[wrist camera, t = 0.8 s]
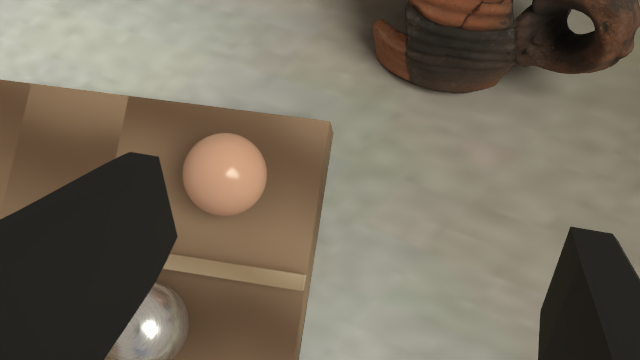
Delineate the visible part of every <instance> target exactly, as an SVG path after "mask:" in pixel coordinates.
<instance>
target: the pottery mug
mask: <svg viewBox="0 0 640 360" xmlns="http://www.w3.org/2000/svg"><path fill="white" fill-rule="evenodd" d="M572 9H574V10H578V11H580V12H582V13H584V14H586V15H587V16H588V17H590V18H591V20H592V21H593V23H594V27H595V31H593V32H590V33H586V34H575V33H574V32H572V31H571V30H570V29H569V27H568V24H567V18H568V15H569V13H570V12H571V10H572ZM405 18H406V24H407V26H406V33H407V35H406V34H403V33H401V32H399V31H398V30H396V29H394V28H393V27H392V26H391V25H389V24H388V23H387V22H386V21H384V20H383V19H379V20H378V21H376V22H375V23H374V25H373V36H374V41H375V47H376V56H377V59H378V60H379V61H380V62H381V63H382V64H383V65H384V66H385V67H386V68H387V69H389V70H390V71H392V72H393V73H394V74H396V75H397V76H400V77H402V78H404V79H405V80H408V81H411V82H412V83H414V84H416V85H419V86H423V87H427V88H430V89H432V90H435V91H446V92H451V93H467V92H472V91H478V90H483V89H486V88H489V87H492V86H495V85H496V84H497V83H498V81H499V80H500V79H501V78H502V76H503V75H504V74H505V73H507V72H508V71H509V70H510V68H511V67H512V66H514V65H515V64H516V63H518V64H519V65H521V66H523V67H527V66H537V67H541V68H544V69H547V70H550V71H554V72H558V73H565V74H579V73H591V72H596V71H600V70H604V69H606V68H608V67H611V66H613V65H614V64H616V63H617V62H618V61H619V60H620V59H621V58H623V57H626V56H627V55H628V54H629V53H630V52H631V51H632V50H633V47H634V35H635V32H636V29H637V28H638V27H639V26H640V6H639V2H638V0H533V1H532V5H531V6H529V7H528V8H527V9H526V10H525V11H524V12H523V13H522V14H521V15H520V16H519V17H517V19H514V18H513V0H408V3H407V4H406V6H405Z"/></svg>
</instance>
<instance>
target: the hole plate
mask: <svg viewBox="0 0 640 360" xmlns="http://www.w3.org/2000/svg"><path fill="white" fill-rule="evenodd" d="M217 133H232V134H237V135H240V136H242V137H244V138H246V139H248V140H249V141H251V142H252V143H253V144H254V145H255V146H256V147H257V148H258V149H259V151H260V152H261V154H262V155H263V158H264V160H265V163H266V167H267V182H266V186H265V189H264V192H263V194H262V196H261V197H260V199H259V200H258V201H257V202H256V203H255V205H253V206H252V207H251V208H250V209H248V210H247V211H245V212H243V213H240V214H237V215H234V216H216V215H212V214H209V213H207V212H205V211H203V210H202V209H200V208H199V207H197V206H196V205H195V204H194V203H193V202H192V200H191V199H190V198H189V196H188V194H187V193H186V190H185V188H184V184H183V178H182V172H183V165H184V161H185V159H186V156H187V155H188V153H189V151H190V150H191V149H192V147H193V146H194V145H195V144H196V143H198V142H199V141H200V140H202V139H203V138H205V137H207V136H210V135H213V134H217ZM332 138H333V131H332V127H331V123H330V121H322V120H315V119H307V118H299V117H291V116H283V115H275V114H267V113H259V112H251V111H243V110H235V109H227V108H219V107H211V106H204V105H196V104H188V103H180V102H172V101H164V100H156V99H148V98H140V97H132V96H124V95H116V94H108V93H101V92H93V91H85V90H77V89H69V88H61V87H53V86H45V85H37V84H29V83H21V82H13V81H5V80H0V219H2V218H4V217H6V216H8V215H10V214H12V213H14V212H16V211H18V210H20V209H22V208H24V207H26V206H27V205H29V204H31V203H33V202H35V201H37V200H39V199H40V198H42V197H44V196H46V195H48V194H50V193H52V192H53V191H55V190H57V189H59V188H61V187H63V186H65V185H66V184H68V183H70V182H72V181H74V180H76V179H77V178H79V177H81V176H83V175H85V174H87V173H88V172H90V171H92V170H94V169H96V168H98V167H100V166H102V165H104V164H105V163H107V162H109V161H111V160H113V159H115V158H117V157H120V156H122V155H124V154H126V153H128V152H135V153H141V154H146V155H152V156H158V157H159V159H160V164H161V168H162V172H163V176H164V181H165V185H166V189H167V193H168V198H169V202H170V206H171V210H172V215H173V219H174V223H175V227H176V232H177V236H178V237H177V239H176V241H175V244H174V246H173V248H172V250H171V252H170V254H169V257H168V259H167V261H166V263H165V265H164V267H163V269H162V271H161V273H160V275H159V277H158V279H157V281H156V282H157V283H161V284H164V285H166V286H168V287H169V288H171V289H173V290H174V291H175V292H176V293H177V294H178V295H179V296H180V297H181V299H182V300H183V302H184V303H185V306H186V308H187V311H188V316H189V330H188V334H187V338H186V340H185V343H184V344H183V346H182V348H181V349H180V351H179V352H178V353H177V354H176V355H175V356H174V357H173V358H172V359H171V360H299V354H300V347H301V340H302V334H303V327H304V321H305V314H306V308H307V301H308V295H309V288H310V282H311V275H312V269H313V262H314V255H315V249H316V242H317V236H318V229H319V223H320V216H321V210H322V203H323V197H324V190H325V184H326V177H327V170H328V164H329V157H330V151H331V144H332ZM104 360H112V359H111V358H110V357H109V356H108V355H107V356H106V358H105V359H104Z"/></svg>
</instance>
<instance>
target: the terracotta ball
mask: <svg viewBox="0 0 640 360" xmlns="http://www.w3.org/2000/svg"><path fill="white" fill-rule="evenodd" d="M182 178H183V184H184V188H185V190H186V193H187V194H188V196H189V198H190V199H191V200H192V202H193V203H194V204H195V205H196V206H197V207H199V208H200V209H202V210H203V211H205V212H207V213H209V214H212V215H216V216H234V215H237V214H240V213H243V212H245V211H247V210H248V209H250V208H251V207H252V206H253V205H255V203H256V202H257V201H258V200H259V199H260V197H261V196H262V194H263V192H264V189H265V186H266V182H267V167H266V163H265V160H264V158H263V155H262V154H261V152H260V151H259V149H258V148H257V147H256V146H255V145H254V144H253V143H252V142H251V141H249V140H248V139H246V138H244V137H242V136H240V135H237V134H232V133H217V134H213V135H210V136H207V137H205V138H203V139H202V140H200V141H199V142H198V143H196V144H195V145H194V146H193V147H192V149H191V150H190V151H189V153H188V155H187V156H186V159H185V161H184V165H183V172H182Z"/></svg>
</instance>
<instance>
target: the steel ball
mask: <svg viewBox="0 0 640 360" xmlns="http://www.w3.org/2000/svg"><path fill="white" fill-rule="evenodd" d="M188 330H189V316H188V311H187V308H186V306H185V303H184V302H183V300H182V299H181V297H180V296H179V295H178V294H177V293H176V292H175V291H174V290H173V289H171V288H169V287H168V286H166V285H164V284H161V283H157V282H155V284H154V286H153V287H152V289H151V290H150V292H149V293H148V295H147V296H146V298H145V299H144V301H143V302H142V304H141V305H140V307H139V308H138V310H137V312H136V313H135V315H134V316H133V318H132V319H131V321H130V322H129V323H128V325H127V326H126V328H125V329H124V331H123V332H122V334H121V335H120V337H119V338H118V340H117V341H116V343H115V344H114V346H113V347H112V349H111V350H110V352H109V353H108V356H109V357H110V358H111V359H112V360H171V359H172V358H173V357H174V356H175V355H176V354H177V353H178V352H179V351H180V349H181V348H182V346H183V344H184V343H185V340H186V338H187V334H188Z"/></svg>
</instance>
